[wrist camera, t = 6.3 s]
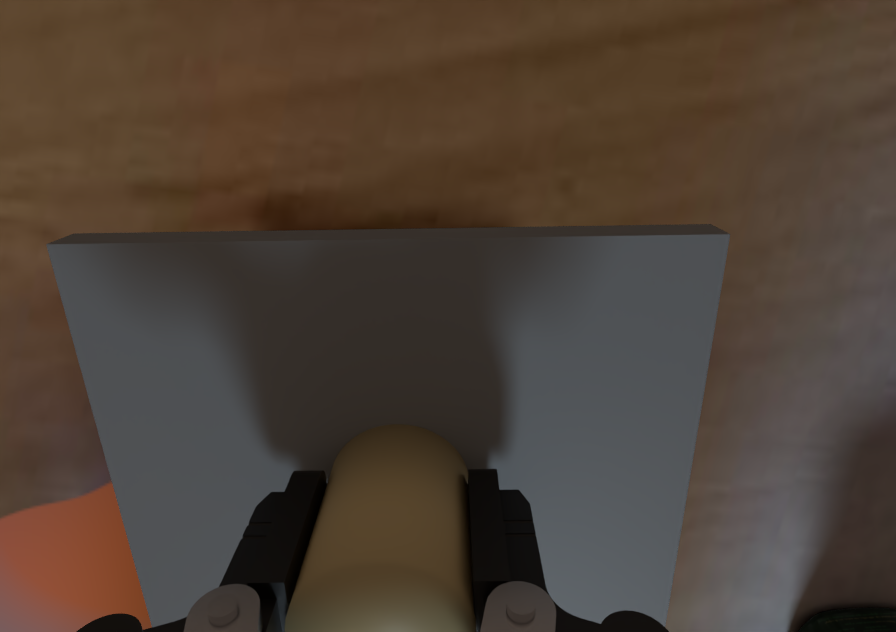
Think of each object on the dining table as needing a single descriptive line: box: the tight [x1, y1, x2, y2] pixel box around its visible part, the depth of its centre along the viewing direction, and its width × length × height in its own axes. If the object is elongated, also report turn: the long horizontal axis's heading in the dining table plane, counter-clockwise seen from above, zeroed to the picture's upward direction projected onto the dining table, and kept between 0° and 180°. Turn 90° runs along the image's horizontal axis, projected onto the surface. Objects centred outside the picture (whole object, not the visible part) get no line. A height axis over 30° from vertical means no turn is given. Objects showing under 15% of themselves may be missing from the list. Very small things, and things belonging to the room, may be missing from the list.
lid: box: [46, 224, 730, 632], centre depth 13 cm, size 15×13×6 cm
